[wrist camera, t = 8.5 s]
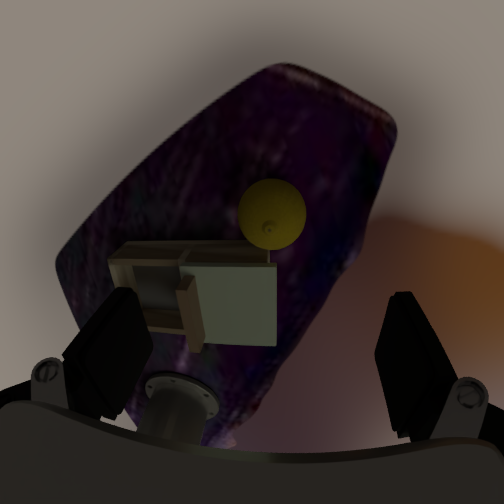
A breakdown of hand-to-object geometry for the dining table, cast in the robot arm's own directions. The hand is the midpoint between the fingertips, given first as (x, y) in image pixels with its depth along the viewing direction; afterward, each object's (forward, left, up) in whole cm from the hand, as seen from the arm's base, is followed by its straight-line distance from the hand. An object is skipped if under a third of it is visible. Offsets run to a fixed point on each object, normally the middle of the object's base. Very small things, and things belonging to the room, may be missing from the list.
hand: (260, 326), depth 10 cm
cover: (-9, +4, -13) cm, 17 cm away
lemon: (0, 0, -19) cm, 19 cm away
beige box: (-9, +9, -18) cm, 22 cm away
